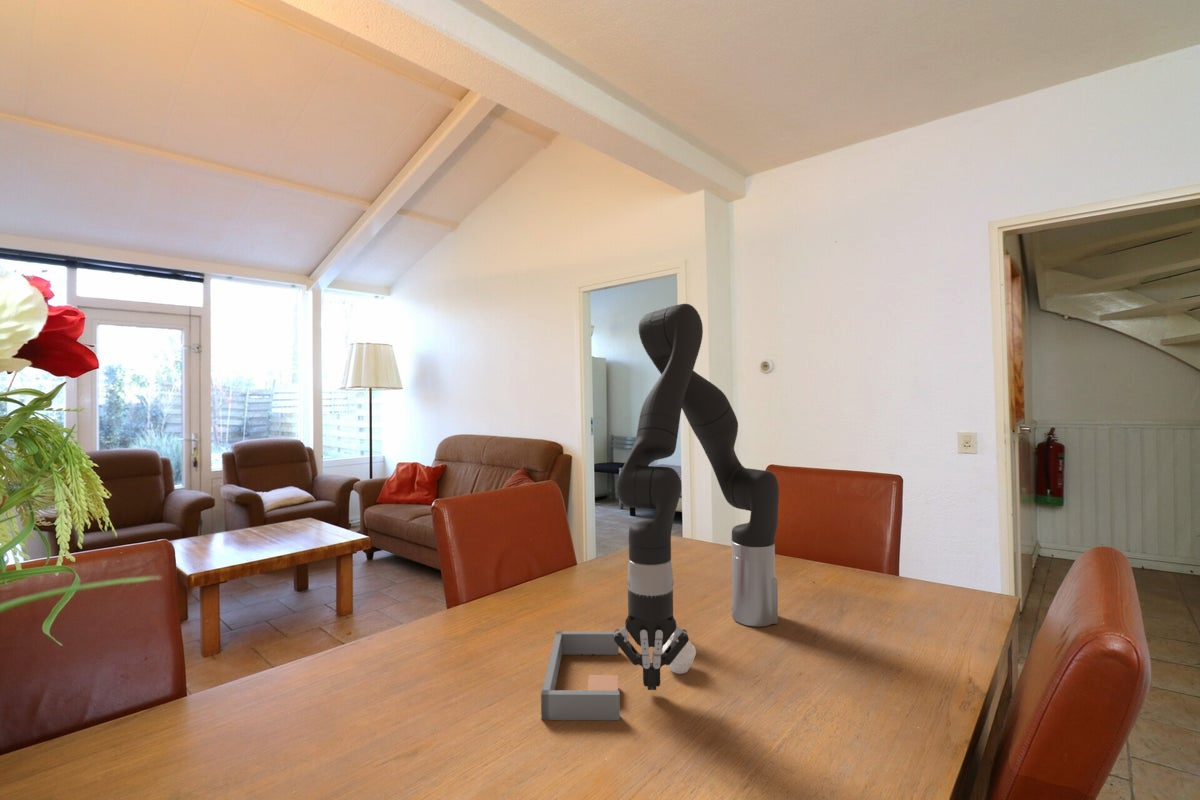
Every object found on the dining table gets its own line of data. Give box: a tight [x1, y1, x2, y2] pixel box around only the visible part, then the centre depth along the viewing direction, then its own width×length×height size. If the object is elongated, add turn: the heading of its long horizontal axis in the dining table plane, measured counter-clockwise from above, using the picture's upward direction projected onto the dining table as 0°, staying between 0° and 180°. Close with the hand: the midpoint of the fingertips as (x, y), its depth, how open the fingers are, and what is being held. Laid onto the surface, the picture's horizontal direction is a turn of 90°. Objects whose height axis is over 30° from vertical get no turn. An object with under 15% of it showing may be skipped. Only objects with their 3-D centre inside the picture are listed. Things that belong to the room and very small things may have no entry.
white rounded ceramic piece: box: [662, 633, 697, 675], centre depth 102 cm, size 6×6×7 cm
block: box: [587, 674, 619, 691], centre depth 94 cm, size 5×5×2 cm
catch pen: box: [540, 630, 621, 721], centre depth 98 cm, size 12×22×4 cm, turn 178°
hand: (651, 687), depth 94 cm, fingers closed
